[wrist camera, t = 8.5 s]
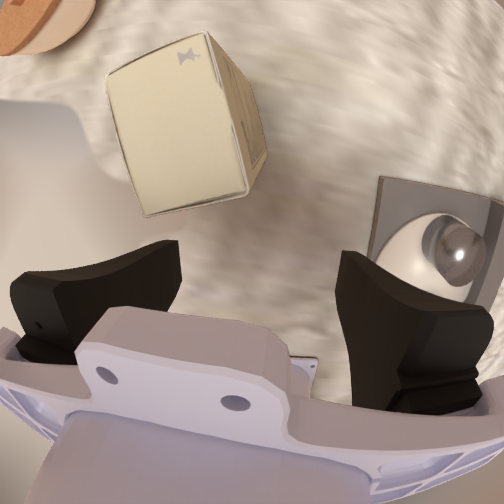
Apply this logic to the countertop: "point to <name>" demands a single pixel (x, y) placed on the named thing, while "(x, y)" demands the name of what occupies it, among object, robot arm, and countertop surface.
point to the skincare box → (185, 126)
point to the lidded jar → (40, 24)
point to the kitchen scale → (412, 229)
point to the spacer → (454, 250)
